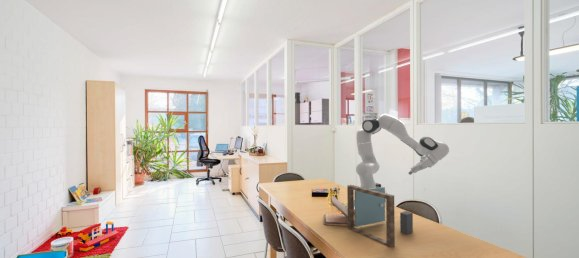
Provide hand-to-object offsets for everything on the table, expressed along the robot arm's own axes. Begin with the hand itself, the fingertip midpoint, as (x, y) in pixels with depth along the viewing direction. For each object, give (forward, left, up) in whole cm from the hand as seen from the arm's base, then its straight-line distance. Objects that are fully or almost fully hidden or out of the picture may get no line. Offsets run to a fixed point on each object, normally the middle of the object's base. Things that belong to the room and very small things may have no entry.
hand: (411, 172), depth 173 cm
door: (-15, -23, -33) cm, 43 cm away
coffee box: (-48, +22, -35) cm, 63 cm away
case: (-35, -33, -35) cm, 59 cm away
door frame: (-5, -36, -35) cm, 51 cm away
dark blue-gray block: (+4, -12, -35) cm, 37 cm away
